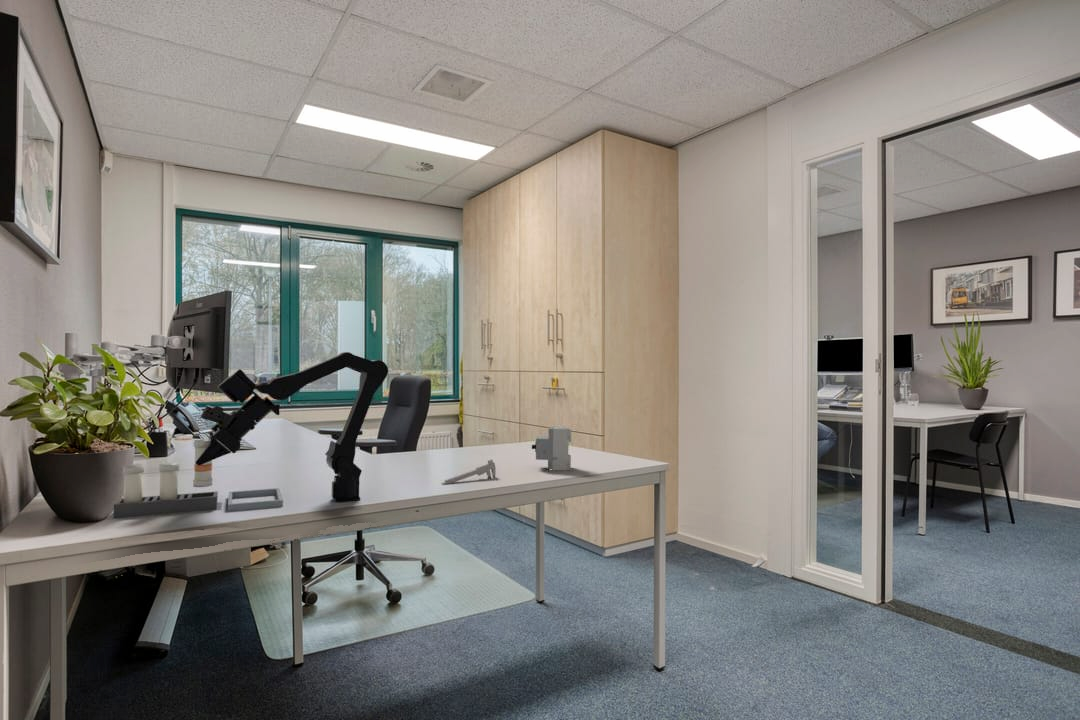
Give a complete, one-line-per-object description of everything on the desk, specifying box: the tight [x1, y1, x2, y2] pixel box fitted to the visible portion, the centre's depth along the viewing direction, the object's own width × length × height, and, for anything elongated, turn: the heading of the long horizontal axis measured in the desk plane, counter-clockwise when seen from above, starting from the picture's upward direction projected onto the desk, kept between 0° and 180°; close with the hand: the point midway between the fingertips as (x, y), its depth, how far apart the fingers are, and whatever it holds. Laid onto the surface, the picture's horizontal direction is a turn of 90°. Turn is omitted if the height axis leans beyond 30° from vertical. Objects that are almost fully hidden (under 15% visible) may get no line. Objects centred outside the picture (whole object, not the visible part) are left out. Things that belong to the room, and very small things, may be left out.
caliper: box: [441, 459, 497, 485], centre depth 186 cm, size 20×1×6 cm, turn 132°
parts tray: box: [227, 487, 284, 512], centre depth 146 cm, size 12×15×3 cm
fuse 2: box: [158, 462, 180, 500], centre depth 136 cm, size 4×4×11 cm
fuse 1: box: [122, 463, 145, 503], centre depth 133 cm, size 4×4×11 cm
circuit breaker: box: [531, 425, 572, 471], centre depth 210 cm, size 8×14×15 cm, turn 88°
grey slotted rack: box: [106, 491, 223, 521], centre depth 136 cm, size 22×8×4 cm, turn 118°
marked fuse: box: [192, 438, 213, 488], centre depth 140 cm, size 4×4×11 cm
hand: (196, 462), depth 139 cm, fingers closed on marked fuse, 4 cm apart
